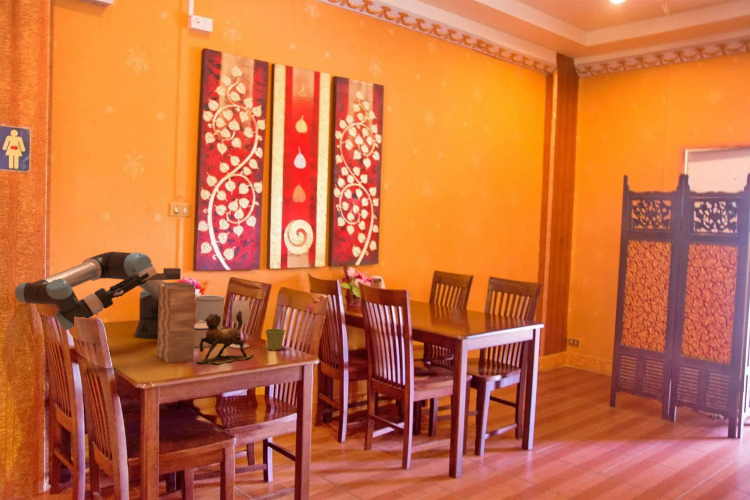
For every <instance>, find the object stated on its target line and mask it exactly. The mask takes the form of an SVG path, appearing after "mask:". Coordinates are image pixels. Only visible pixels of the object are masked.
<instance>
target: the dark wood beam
mask: <svg viewBox="0 0 750 500" xmlns="http://www.w3.org/2000/svg"><path fill="white" fill-rule="evenodd" d="M181 273H182V272H181V267H163V272H157V274H155V275H153V276H152V277H150V278H148V279H146V280H163V281H173V280H174V281H177V280H180V281H181ZM141 274H142V273H135V274H133V279H135V278H137V277H139V275H141Z"/></svg>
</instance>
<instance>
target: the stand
mask: <svg viewBox="0 0 750 500" xmlns="http://www.w3.org/2000/svg"><path fill="white" fill-rule="evenodd" d="M195 322H196V287H195V283H189V282H188V281H184V282H183V281H181V282H179V281H177V282H176V281H175V282H166V283H164V284H163V285H159V303H158V338H157V343H156V345H157V350H156V351H157V352H156V354H157V355H156V356H158V357H160V358H161V359H162V360H164V361H166V362H167V363H168V362H169V363H168V364H171V363H172V362H173V363H180V362H191V361H194V358H195V357H194V355H195V353H194V352H195V350H194V349H195V347H194V325H195Z"/></svg>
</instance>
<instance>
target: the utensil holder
mask: <svg viewBox="0 0 750 500" xmlns="http://www.w3.org/2000/svg"><path fill="white" fill-rule="evenodd" d="M224 305H225V296H224V295H219V294H200V295H199V294H198V295H195V324H197V323H199V321H203V323H206V324H207V322H206V321H205V319H206V318H207V317H208V316H209V314H211V313H212V314H217V315H218V316H220V317H221V321H220V324H219V326H218V327H217V328H218V330H223V324H224V323H223V322H224Z"/></svg>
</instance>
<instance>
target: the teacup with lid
mask: <svg viewBox="0 0 750 500" xmlns="http://www.w3.org/2000/svg"><path fill="white" fill-rule="evenodd" d="M207 330H208V326H207V324H206V323H203V321H199V323H197V324H196V323H194V348H196V349H197V348H198V349H200V342H201V338H202V337H204V338H206V332H207ZM208 347H209V348H210V347H211V344H208V343H206V342H203V347H202V348H203V349H204V348H208Z"/></svg>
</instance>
